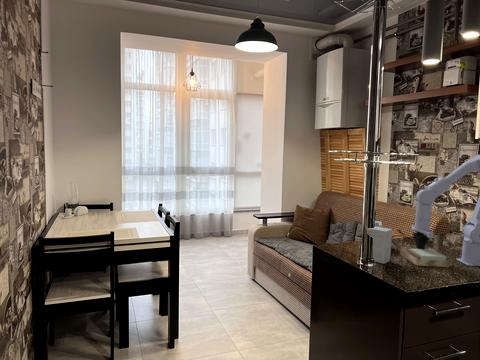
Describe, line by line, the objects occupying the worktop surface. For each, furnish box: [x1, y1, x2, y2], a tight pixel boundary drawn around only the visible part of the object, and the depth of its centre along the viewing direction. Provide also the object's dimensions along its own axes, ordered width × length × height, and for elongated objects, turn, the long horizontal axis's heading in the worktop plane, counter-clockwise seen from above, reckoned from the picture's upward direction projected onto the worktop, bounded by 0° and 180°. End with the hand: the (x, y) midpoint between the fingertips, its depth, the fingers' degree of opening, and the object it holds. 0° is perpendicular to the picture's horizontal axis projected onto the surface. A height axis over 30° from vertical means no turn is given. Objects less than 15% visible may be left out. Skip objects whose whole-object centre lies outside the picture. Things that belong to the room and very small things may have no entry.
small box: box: [366, 226, 393, 265], centre depth 144 cm, size 8×6×13 cm
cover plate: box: [409, 248, 446, 261], centre depth 144 cm, size 9×10×2 cm
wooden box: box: [399, 246, 451, 268], centre depth 147 cm, size 13×14×4 cm
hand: (420, 250), depth 150 cm, fingers closed
